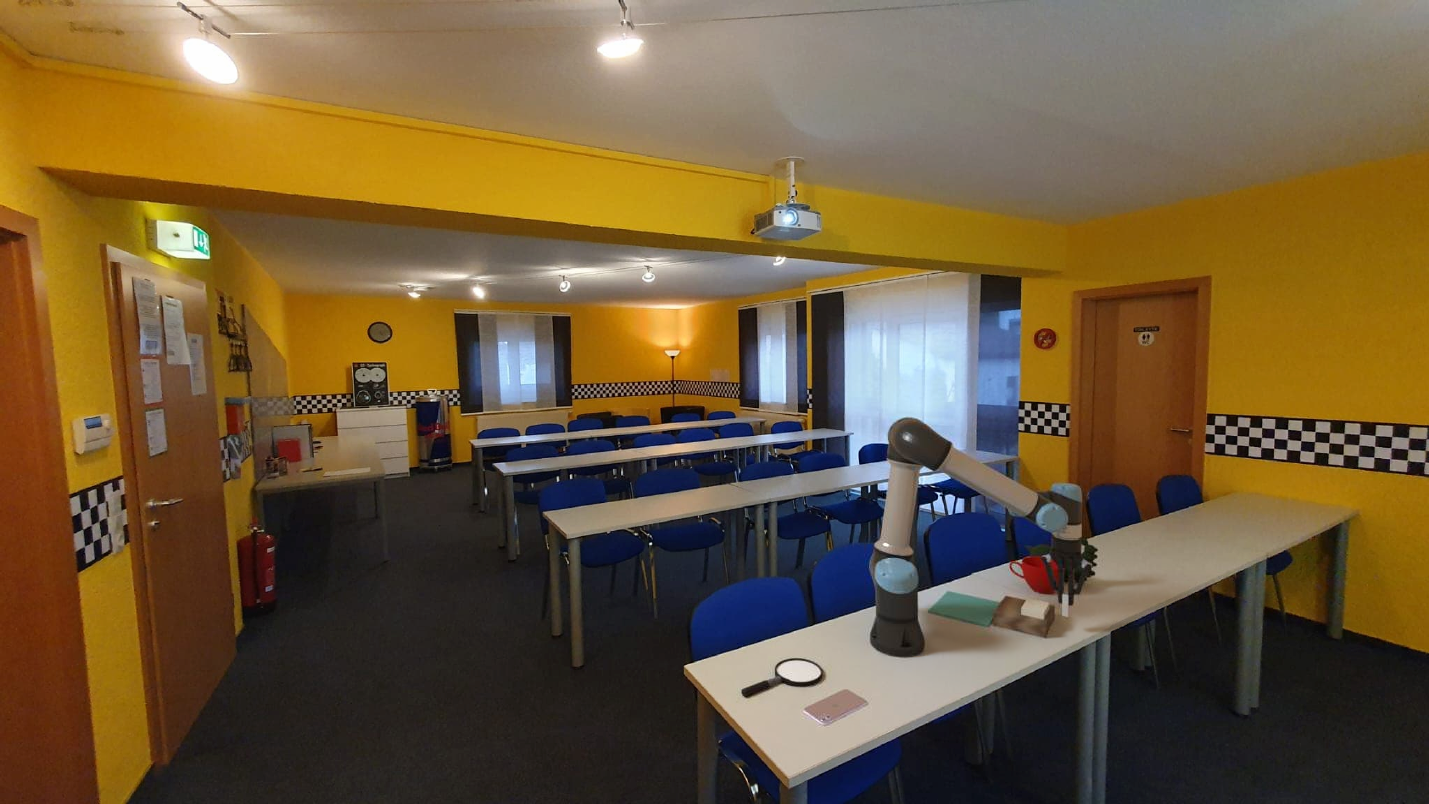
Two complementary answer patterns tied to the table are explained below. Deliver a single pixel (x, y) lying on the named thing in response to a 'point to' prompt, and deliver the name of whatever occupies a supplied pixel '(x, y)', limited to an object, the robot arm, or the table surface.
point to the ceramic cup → (1036, 574)
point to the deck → (1021, 618)
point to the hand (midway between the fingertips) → (1065, 614)
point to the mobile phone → (835, 707)
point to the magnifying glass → (789, 676)
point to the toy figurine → (1087, 555)
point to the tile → (1035, 608)
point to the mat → (965, 608)
